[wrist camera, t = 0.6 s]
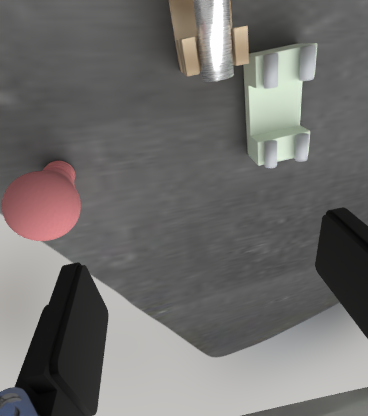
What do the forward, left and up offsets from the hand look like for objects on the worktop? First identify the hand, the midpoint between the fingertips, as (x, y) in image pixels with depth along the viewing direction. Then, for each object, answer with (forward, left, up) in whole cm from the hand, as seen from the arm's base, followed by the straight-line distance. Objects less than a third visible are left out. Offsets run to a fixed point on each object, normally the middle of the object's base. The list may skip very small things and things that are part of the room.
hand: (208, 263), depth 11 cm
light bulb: (+5, -14, -26) cm, 30 cm away
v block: (+2, +13, -26) cm, 29 cm away
